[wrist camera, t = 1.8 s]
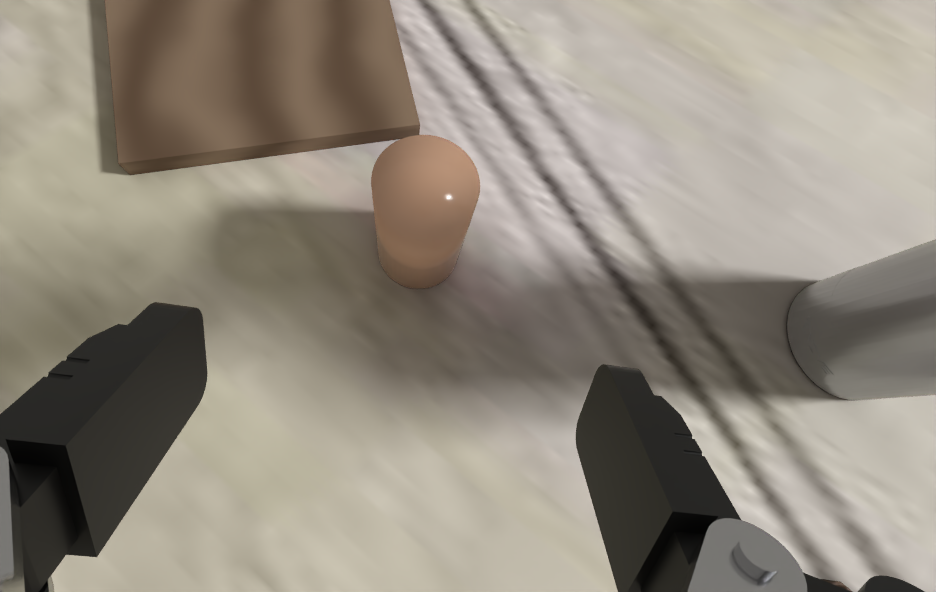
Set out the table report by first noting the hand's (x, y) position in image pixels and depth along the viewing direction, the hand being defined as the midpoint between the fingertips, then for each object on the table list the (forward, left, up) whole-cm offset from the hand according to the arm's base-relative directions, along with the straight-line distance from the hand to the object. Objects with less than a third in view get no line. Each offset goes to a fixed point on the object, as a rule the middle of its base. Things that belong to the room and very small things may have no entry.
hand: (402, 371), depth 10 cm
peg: (-4, -11, -23) cm, 26 cm away
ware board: (+4, -28, -23) cm, 36 cm away
